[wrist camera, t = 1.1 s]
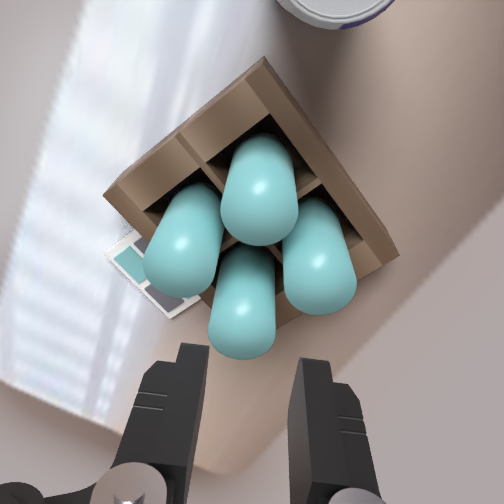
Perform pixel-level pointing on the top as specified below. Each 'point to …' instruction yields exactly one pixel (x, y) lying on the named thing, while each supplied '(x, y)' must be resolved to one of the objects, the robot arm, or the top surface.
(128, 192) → the wooden compartment tray
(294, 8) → the energy drink
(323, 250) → the turquoise cylinder
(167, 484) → the robot arm
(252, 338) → the light turquoise rounded peg
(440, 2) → the top surface
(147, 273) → the pale teal rounded cylinder
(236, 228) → the teal capsule
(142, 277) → the tile
